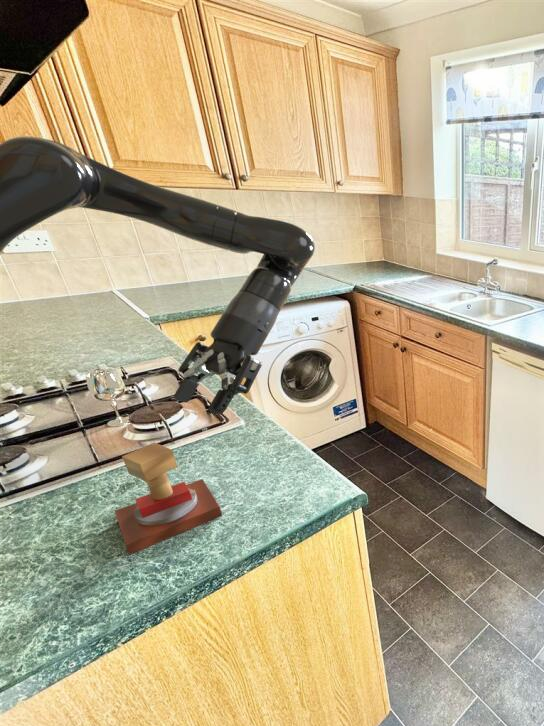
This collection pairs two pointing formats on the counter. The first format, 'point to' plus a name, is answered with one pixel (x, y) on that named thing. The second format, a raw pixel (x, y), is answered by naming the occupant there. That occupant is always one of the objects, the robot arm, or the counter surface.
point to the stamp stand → (147, 536)
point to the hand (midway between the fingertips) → (197, 406)
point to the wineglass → (107, 390)
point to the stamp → (158, 486)
